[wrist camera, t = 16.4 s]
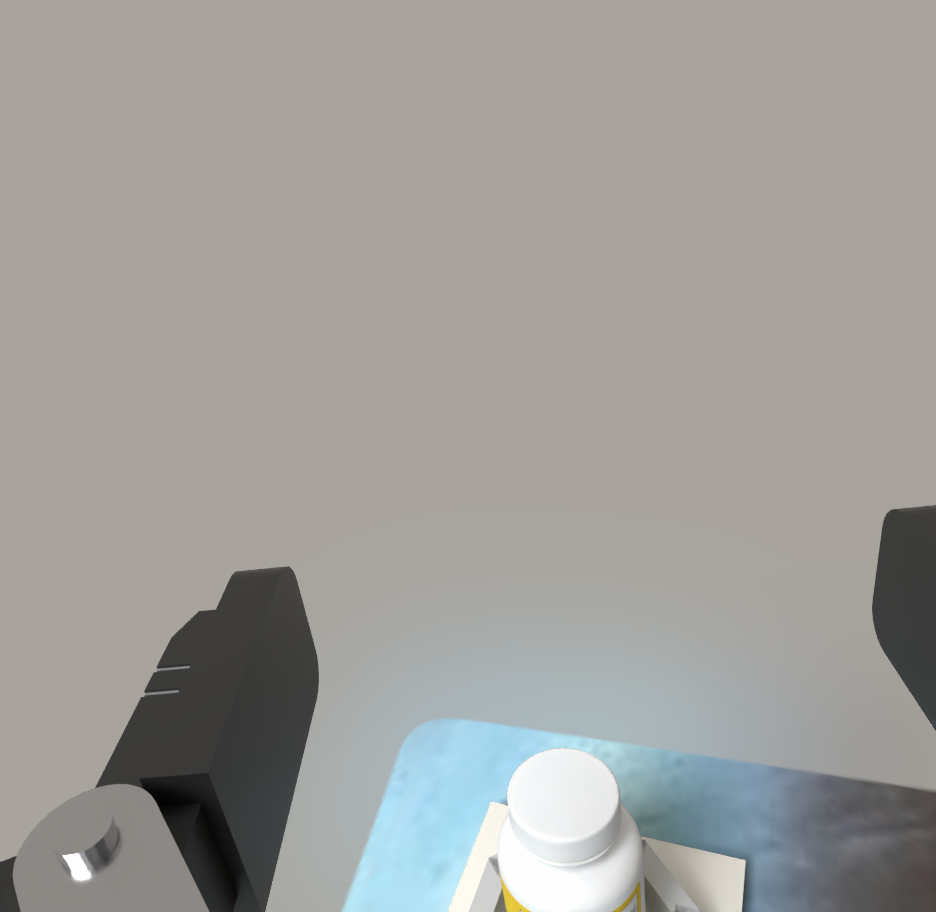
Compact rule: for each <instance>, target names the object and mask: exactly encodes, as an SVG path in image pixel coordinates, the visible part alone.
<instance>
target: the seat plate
mask: <svg viewBox="0 0 936 912" xmlns="http://www.w3.org/2000/svg"><path fill="white" fill-rule="evenodd" d="M508 812H509V809H508V805H504V804H500V803H495V802H491V803H490V806H489V809H488V811H487V814H486V816H485V819H484V821H483V824H482V826H481V829H480V831H479V834H478V836H477V839H476V841H475V844H474V846H473V849H472V852H471V854H470V857H469V859H468V862H467V864H466V867H465V869H464V872H463V874H462V877H461V879H460V882H459V884H458V887H457V889H456V892H455V894H454V897H453V900H452V902H451V905H450V907H449V910H448V912H506V908H505V900H504V894H503V889H502V884H501V878H500V872H499V866H498V856H497V843H498V836H499V832H500V829H501V826H502V823H503V821H504V819H505V817H506V815H507V814H508ZM640 837H641V842H642V850H643V865H644V886H645V909H646V912H742V904H743V891H744V878H745V863H746V860H742V859H738V858H734V857H729V856H725V855H721V854H716V853H712V852H708V851H703V850H699V849H695V848H690V847H686V846H682V845H677V844H673V843H669V842H664V841H660V840H656V839H651V838H647V837H643V836H640Z"/></svg>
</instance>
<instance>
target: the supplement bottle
mask: <svg viewBox="0 0 936 912" xmlns="http://www.w3.org/2000/svg"><path fill="white" fill-rule="evenodd" d="M507 800H508V809H509V812H508V814H507V815H506V817H505V819H504V821H503V823H502V826H501V829H500V832H499V836H498V843H497V856H498V866H499V872H500V878H501V884H502V889H503V894H504V900H505V908H506V912H646V909H645V886H644V865H643V850H642V842H641V837H640V833H639V830H638V827H637V825H636V823H635V821H634V819H633V817H632V816H631V814H630V813H629V811H628V810H627V809H626V808H625V806H624V805H623V804H622V803H621V802H620V792H619V787H618V783H617V781H616V778H615V776H614V775H613V773H612V772H611V770H610V769H609V768H608V767H607V766H606V765H605V764H604V763H603V762H602V761H601V760H600V759H598V758H597V757H595V756H593V755H591V754H589V753H587V752H584V751H581V750H576V749H570V748H558V749H550V750H546V751H543V752H540V753H538V754H536V755H534V756H532V757H530V758H529V759H527V760H526V761H525V762H523V763H522V764H521V765H520V766H519V767H518V769H517V770H516V771H515V773H514V774H513V776H512V778H511V781H510V783H509V787H508V793H507Z"/></svg>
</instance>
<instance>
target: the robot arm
mask: <svg viewBox="0 0 936 912" xmlns="http://www.w3.org/2000/svg"><path fill="white" fill-rule="evenodd" d="M872 613H873V622H874V627H875V631H876V634H877V638H878V640H879V643H880V645H881V647H882V649H883V651H884V652H885V654H886V656H887V657H888V659H889V660H890V662H891V663H892V665H893V666H894V668H895V669H896V671H897V672H898V674H899V675H900V677H901V679H902V680H903V682H904V683H905V684H906V686H907V688H908V689H909V691H910V692H911V694H912V695H913V696H914V698H915V700H916V701H917V703H918V704H919V706H920V707H921V709H922V710H923V712H924V714H925V715H926V717H927V718H928V720H929V721H930V723H931V724H932V726H933V727H934V728H935V730H936V505H934V506H923V507H913V508H902V509H893V510H890V511H889V512H888V513H887V514H886V517H885V519H884V522H883V527H882V535H881V542H880V549H879V557H878V565H877V572H876V580H875V587H874V595H873V604H872ZM318 684H319V672H318V660H317V654H316V650H315V646H314V642H313V639H312V635H311V631H310V627H309V624H308V620H307V616H306V613H305V609H304V605H303V601H302V598H301V594H300V590H299V587H298V583H297V579H296V576H295V574H294V572H293V570H292V569H291V568H290V567H278V568H267V569H257V570H247V571H237V572H235V573H234V574H233V575H232V576H231V578H230V580H229V582H228V584H227V587H226V589H225V591H224V593H223V595H222V598H221V600H220V602H219V604H218V606H217V609H216V610H208V611H199V612H198V613H197V614H196V615H195V616H194V617H193V618H191V620H190V621H188V622H187V623H186V624H185V625H184V626H183V628H181V629H180V630H179V631H178V632H177V633H176V634H175V635H174V636H173V637H172V638H171V640H170V642H169V644H168V646H167V648H166V650H165V652H164V654H163V655H162V658H161V660H160V661H159V663H158V665H157V672H155V673H153V675H152V677H151V679H150V681H149V683H148V685H147V687H146V689H145V697H141V699H140V701H139V703H138V705H137V707H136V709H135V711H134V713H133V715H132V717H131V719H130V720H129V722H128V725H127V726H126V728H125V730H124V732H123V734H122V736H121V738H120V740H119V742H118V744H117V746H116V748H115V750H114V752H113V754H112V756H111V758H110V760H109V762H108V764H107V766H106V768H105V770H104V772H103V774H102V776H101V778H100V780H99V782H98V783H97V786H96V787H95V788H94V789H91V790H89V791H86V792H83V793H81V794H79V795H77V796H75V797H73V798H71V799H70V800H68V801H66V802H65V803H63V804H61V805H60V806H58V807H57V808H56V809H54V810H53V811H52V812H50V813H49V814H48V815H47V816H46V817H45V818H44V819H43V820H42V821H40V822H39V824H38V825H37V826H36V827H35V828H34V829H33V830H32V831H31V832H30V834H29V835H28V837H27V838H26V840H25V841H24V842H23V844H22V846H21V848H20V850H19V852H18V854H17V856H15V857H12V858H10V859H7V860H5V861H2V862H0V912H265V910H266V905H267V901H268V897H269V893H270V889H271V885H272V881H273V877H274V872H275V868H276V864H277V860H278V856H279V852H280V848H281V843H282V840H283V835H284V831H285V827H286V823H287V819H288V815H289V811H290V807H291V802H292V799H293V794H294V790H295V786H296V782H297V778H298V773H299V770H300V766H301V761H302V757H303V753H304V749H305V745H306V741H307V737H308V733H309V728H310V724H311V720H312V716H313V712H314V708H315V704H316V700H317V694H318Z"/></svg>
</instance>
